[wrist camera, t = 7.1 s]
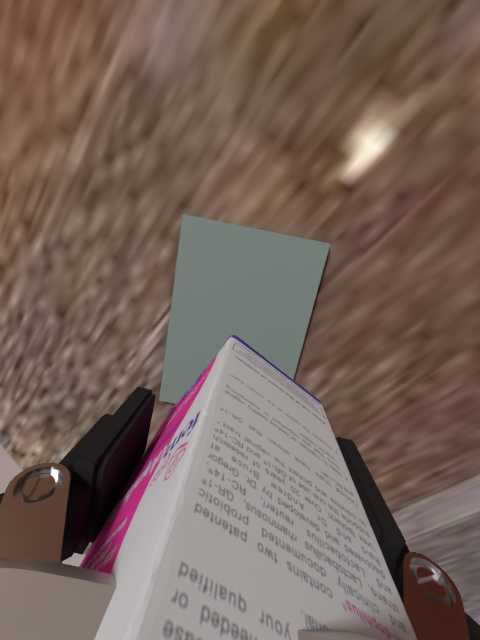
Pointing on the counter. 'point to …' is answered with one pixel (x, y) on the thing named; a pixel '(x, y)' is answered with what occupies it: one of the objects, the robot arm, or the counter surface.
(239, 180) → the counter surface
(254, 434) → the supplement box
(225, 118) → the counter surface
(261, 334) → the rubber mat
